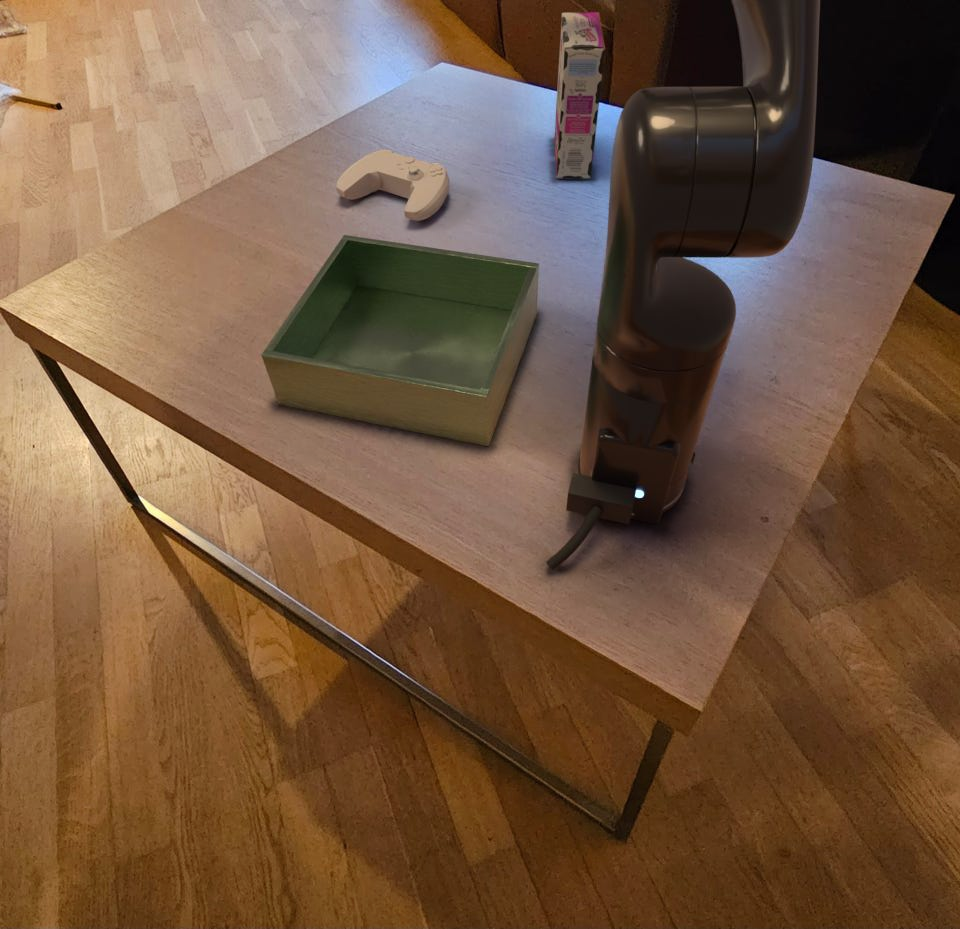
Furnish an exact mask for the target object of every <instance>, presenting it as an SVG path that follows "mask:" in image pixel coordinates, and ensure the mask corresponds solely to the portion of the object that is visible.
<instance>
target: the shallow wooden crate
mask: <svg viewBox="0 0 960 929" xmlns="http://www.w3.org/2000/svg"><path fill="white" fill-rule="evenodd" d="M539 276H540V263H538V262H531V261H525V260H519V259H510V258H505V257H497V256H491V255H484V254H477V253H471V252H464V251H456V250H451V249H450V250H449V249H443V248H436V247H430V246H422V245H417V244H409V243H403V242H402V243H401V242H395V241H389V240H382V239H375V238H368V237H361V236H354V235H348V234H344V235H342V237H341V238H340V240H339V242H338V243H337V244H336V246H335V247H334V249H333V250H332V251H331V253H330V254H329V256H328V257H327V259H326V260H325V261H324V263H323V265H322V266H321V267H320V269H319V271H318V272H317V273H316V275H315V276H314V278H312V281H311V282H310V283H309V285H308V286H307V287H306V289H305V291H304V292H303V293H302V294H301V297H300V298H299V299H298V301H297V302H296V303H295V305H294V306H293V308H292V310H291V311H290V312H289V314H288V315H287V317H286V318H285V320H284V321H283V322H282V324H281V326H280V327H279V328H278V330H277V331H276V332H275V334H274V336H273V337H272V338H271V340H270V341H269V343H268V344H267V346H266V347H265V349H264V350H263V351H262V353H261V355H260V356H261V358H262V361H263V364H264V367H265V369H266V372H267V376H268V378H269V381H270V383H271V386H272V389H273V392H274V394H275V397H276V401H277V404H278V405H281V406H286V407H290V408H295V409H301V410H306V411H310V412H314V413H319V414H325V415H330V416H335V417H340V418H346V419H350V420H356V421H360V422H365V423H370V424H375V425H380V426H386V427H390V428H394V429H400V430H405V431H411V432H414V433H420V434H425V435H429V436H433V437H434V436H435V437H439V438H445V439H449V440H454V441H459V442H464V443H470V444H475V445H479V446H485V447H490V443H491V441H492V438H493V435H494V433H495V430H496V427H497V424H498V422H499V418H500V416H501V413H502V411H503V409H504V406H505V403H506V400H507V397H508V395H509V392H510V389H511V386H512V384H513V381H514V379H515V375H516V372H517V370H518V367H519V365H520V361H521V359H522V357H523V353H524V351H525V348H526V345H527V343H528V340H529V337H530V334H531V332H532V329H533V326H534V323H535V321H536V318H537V315H538V301H539V300H538V297H539Z"/></svg>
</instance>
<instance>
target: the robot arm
mask: <svg viewBox="0 0 960 929" xmlns="http://www.w3.org/2000/svg"><path fill="white" fill-rule="evenodd" d="M618 1H621V2H623V1H624V0H618ZM730 1H731V4H732V8H733V12H734V16H735V20H736V24H737V25H736V26H737V31H738V37H739V45H740V54H741V64H742V66H741V67H742V86H653V87H646V88H645V87H644V88H641V89H639V90H637V91H635V92H634V93H633V94H632V95H631V96H630V97H629V99H628V100H627V101H626V102H625V105H624V106H623V108H622V109H621V110H622V111H621V113H620V116H619V119H618V121H617V125H616V130H615V135H614V140H613V146H612V152H611V153H612V154H611V165H610V175H609V193H608V195H609V196H608V213H607V214H608V216H607V230H606V231H607V232H606V242H605V244H606V245H605V254H604V262H603V270H602V271H603V272H602V280H601V288H600V295H599V296H600V297H599V304H598V309H597V311H598V312H597V318H596V329H595V335H594V336H595V338H594V344H593V345H594V346H593V352H592V360H591V366H590V367H591V368H590V373H589V374H590V375H589V383H588V391H587V399H586V407H585V415H584V422H583V423H584V424H583V430H582V431H583V432H582V438H581V439H582V440H581V448H580V456H579V458H578V463H577V473H575V472H573V473H572V475H571V480H570V484H569V487H568V492H567V498H566V507H565V511H566V512H571V513H574V514H579V515H585V516H586V517H585V518H584V520H583V521H582V523H581V524H580V526H579V527H578V528H577V530H576V531H575V532H574V534H573V535H572V536H571V537H570V539H569V540H568V541H567V542H566V543H565V545H563V546H562V547H561V548H560V549H559V550H558V551H557V552H556V553H555V554H553V556H551V557H550V558H548V560H546V565H547V566H548V567H549V569H550V570H552V571H555V570H556V569H557V568H558V567H559V566H560V565H562V564H563V563H564V562H566V561H567V559H569V558H570V557H571V556H572V555H573V554H574V553H575V552H576V551H577V550H578V549H579V547H580V546H581V545H582V544H583V543H584V541H585V540H586V539H587V537H588V536H589V534H590V532H591V531H592V529H593V528H594V527H595V525H596V523H597V522H598V521H599V519H602V520H603V519H604V520H607V521H612V522H617V523H622V524H625V525H626V524H627V525H629V524H630V521H631V520H636V521H641V522H646V523H650V524H655V525H657V524H659V523H660V521H661V518H662V514H664V513H665V512H667V511H669V510H670V509H671V508H673V507H674V506H675V505H676V504H677V503H678V501H679V500H680V499H681V497H682V495H683V493H684V489H685V486H686V482H687V477H688V476H687V475H688V473H689V470H690V466H691V465H693V464H694V462H695V458H696V455H697V454H696V453H695V449H696V447H697V443H698V441H699V437H700V434H701V430H702V426H703V423H704V420H705V417H706V414H707V411H708V408H709V404H710V402H711V399H712V395H713V391H714V389H715V385H716V382H717V378H718V376H719V373H720V370H721V367H722V364H723V360H724V357H725V353H726V351H727V347H728V344H729V342H730V339H731V335H732V332H733V329H734V327H735V322H736V318H737V317H736V316H737V305H736V299H735V297H734V294H733V292H732V290H731V289H730V286H728V284H727V283H726V282H725V281H724V280H723V279H722V278H721V277H720V276H719V275H717V274H716V273H715V272H714V271H712V270H711V269H709V268H708V267H706V266H704V265H702V264H700V263H698V262H696V261H693V260H691V259H688V258H695V259H696V258H699V259H700V258H706V259H707V258H708V259H711V258H712V259H713V258H714V259H717V258H718V259H722V258H724V259H726V258H728V259H729V258H730V259H745V258H746V259H750V258H751V259H753V258H765V257H771V256H775V255H777V254H778V253H779V254H780V253H781V252H782V251H783V250H784V249H785V248H786V247H787V246H788V245H789V243H790V242H791V241H792V240H793V238H794V236H795V234H796V232H797V229H798V227H799V225H800V223H801V220H802V218H803V214H804V211H805V207H806V203H807V200H808V194H809V189H810V183H811V177H812V171H813V162H814V152H815V137H816V133H815V132H816V122H817V121H816V118H817V96H818V93H817V92H818V73H819V72H818V70H819V69H818V68H819V45H820V44H819V41H820V40H819V39H820V14H821V0H730Z"/></svg>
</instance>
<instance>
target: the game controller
mask: <svg viewBox="0 0 960 929" xmlns="http://www.w3.org/2000/svg"><path fill="white" fill-rule="evenodd" d="M335 186H336V192H337V194H338V195H339V196H340V197H342V198H344V199H347V200H357V199H361V198H363V197H365V196H368V195H370V194H372V193H374V192H377V191H378V190H379V191H382V192H386V193H389V194H393V195H396V196H398V197H402V198H404V199H407V202H406V205H405V206H404V216H405V218H406V219H408V220H412V221H423V220H427V219H428V218H430V217H432V216H434V214H436V213H437V212H438V211H439V210H440V209H441V208H442V206H443V204H444V203H445V201H446V200H447V197H448V194H449V190H450V177H449V174H448V171H447V169H446V167H445V166H443V165H442V164H440V163H437V162H433V163H431V162H429V161H424V160H420V159H417V158H415V157H414V156H406V155H403V154H399V153H397V152H396V153H395V152H394V150H390V149H379V150H376V151H374V152H371V153H369V154H367V155H365V156H363V157H362V158H360V159H359V160H357V161H355V162H354V163H353V164H352V165H350V166H349V167H347V169H346V170H345V171H344V172H343V173H342V174H340V176H339V178H338V179H337V182H336V185H335Z"/></svg>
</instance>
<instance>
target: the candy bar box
mask: <svg viewBox="0 0 960 929" xmlns="http://www.w3.org/2000/svg"><path fill="white" fill-rule="evenodd" d="M603 35H604V34H603V29H602V22H601V17H600V12H598V11H597V12H595V11H575V12H561V25H560V42H559V57H558V70H557V87H556V88H557V89H556V101H555V102H556V104H555V118H554V119H555V120H554V121H555V122H554V123H555V124H554V159H555V160H554V161H555V177H556V179H557V180H591V179H592V171H593V162H594V155H595V154H594V153H595V152H594V151H595V143H596V136H597V135H596V134H597V126H598V118H599V117H598V116H599V107H600V98H601V89H602V81H603V80H602V79H603V71H604V61H605V52H606V45H605V41H604V36H603Z"/></svg>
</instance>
